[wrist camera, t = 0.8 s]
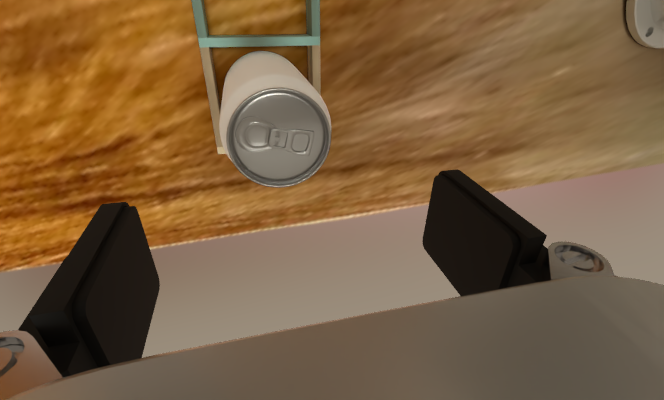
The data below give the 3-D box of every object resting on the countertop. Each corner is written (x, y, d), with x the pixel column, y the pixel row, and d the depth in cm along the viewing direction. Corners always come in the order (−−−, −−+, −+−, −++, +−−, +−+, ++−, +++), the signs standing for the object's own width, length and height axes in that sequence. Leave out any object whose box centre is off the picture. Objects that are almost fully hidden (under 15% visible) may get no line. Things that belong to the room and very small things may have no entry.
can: (228, 40, 26) (223, 65, 16) (310, 60, 28) (352, 93, 18) (220, 122, 29) (212, 188, 19) (294, 134, 31) (323, 199, 21)
